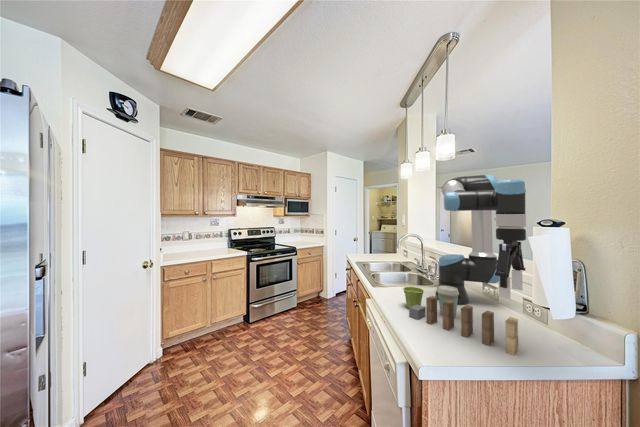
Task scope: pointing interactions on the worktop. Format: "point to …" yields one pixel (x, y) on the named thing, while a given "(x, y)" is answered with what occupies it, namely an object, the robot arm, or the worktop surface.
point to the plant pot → (413, 296)
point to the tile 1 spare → (511, 335)
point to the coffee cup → (447, 297)
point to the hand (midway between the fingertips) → (511, 293)
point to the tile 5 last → (431, 309)
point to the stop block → (417, 312)
